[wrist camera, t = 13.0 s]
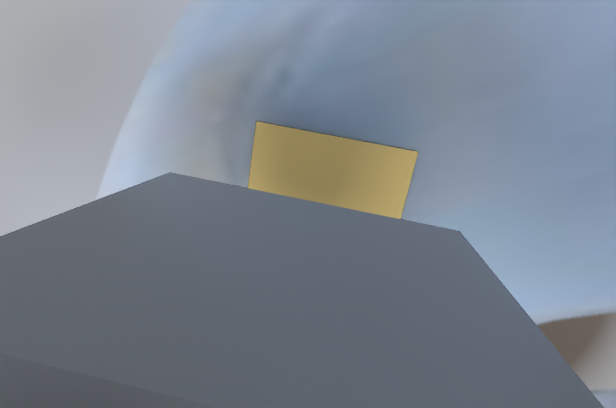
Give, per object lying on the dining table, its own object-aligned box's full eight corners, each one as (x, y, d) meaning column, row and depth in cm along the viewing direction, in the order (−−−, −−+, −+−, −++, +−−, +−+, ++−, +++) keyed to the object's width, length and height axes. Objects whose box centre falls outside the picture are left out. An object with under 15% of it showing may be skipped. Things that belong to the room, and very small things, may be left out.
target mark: (379, 295, 29) (380, 297, 29) (238, 265, 30) (237, 266, 30) (417, 151, 26) (418, 152, 26) (257, 121, 27) (256, 121, 27)
